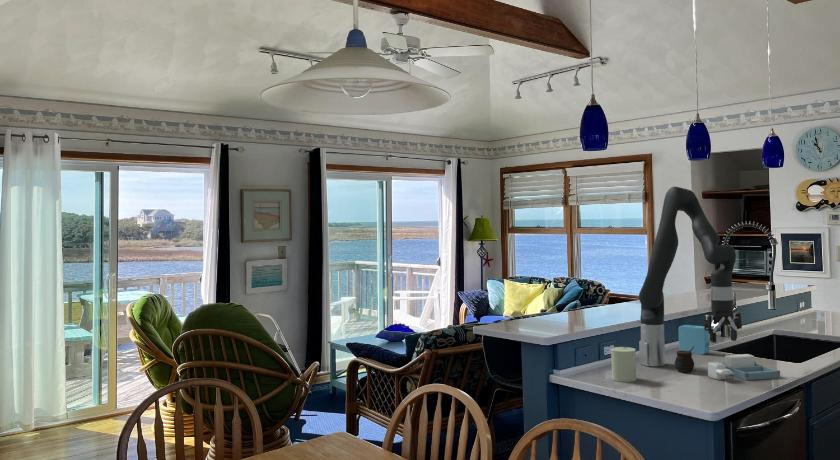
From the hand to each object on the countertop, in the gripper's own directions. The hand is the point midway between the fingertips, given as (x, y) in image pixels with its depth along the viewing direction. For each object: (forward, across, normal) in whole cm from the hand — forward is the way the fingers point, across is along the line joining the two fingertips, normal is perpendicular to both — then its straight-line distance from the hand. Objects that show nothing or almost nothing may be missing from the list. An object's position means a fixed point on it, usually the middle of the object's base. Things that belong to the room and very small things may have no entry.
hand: (723, 341), depth 237 cm
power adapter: (+14, +2, 0) cm, 15 cm away
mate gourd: (+14, +6, -16) cm, 22 cm away
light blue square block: (+14, -20, -46) cm, 52 cm away
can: (+14, +34, -13) cm, 39 cm away
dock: (+14, -14, -5) cm, 20 cm away
